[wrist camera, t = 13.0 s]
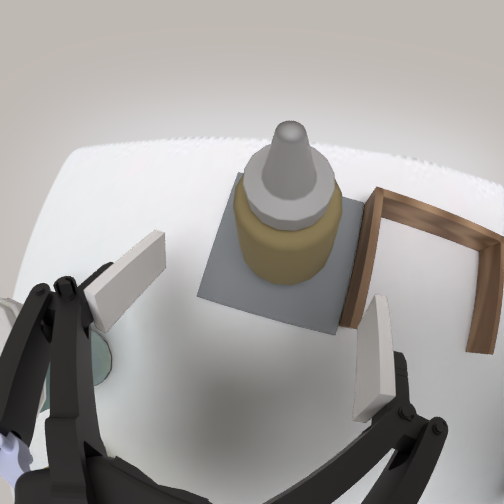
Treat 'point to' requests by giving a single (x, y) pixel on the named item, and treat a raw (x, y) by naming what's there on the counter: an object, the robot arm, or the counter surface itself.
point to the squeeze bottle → (287, 208)
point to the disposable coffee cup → (3, 318)
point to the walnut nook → (444, 225)
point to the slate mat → (278, 295)
